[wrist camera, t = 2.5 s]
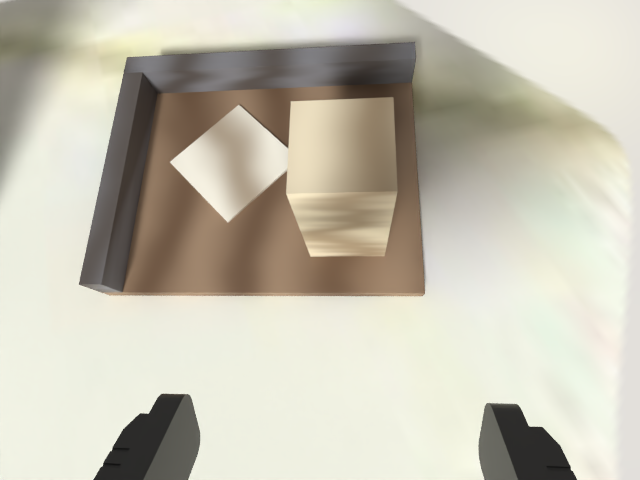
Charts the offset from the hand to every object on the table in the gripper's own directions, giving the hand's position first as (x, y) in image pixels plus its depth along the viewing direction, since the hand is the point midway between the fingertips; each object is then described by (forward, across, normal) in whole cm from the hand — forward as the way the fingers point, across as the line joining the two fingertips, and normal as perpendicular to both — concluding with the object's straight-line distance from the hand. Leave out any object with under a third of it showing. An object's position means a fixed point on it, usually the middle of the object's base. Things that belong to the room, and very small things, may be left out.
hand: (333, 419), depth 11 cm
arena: (+22, +6, 0) cm, 23 cm away
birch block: (+18, 0, +2) cm, 19 cm away
